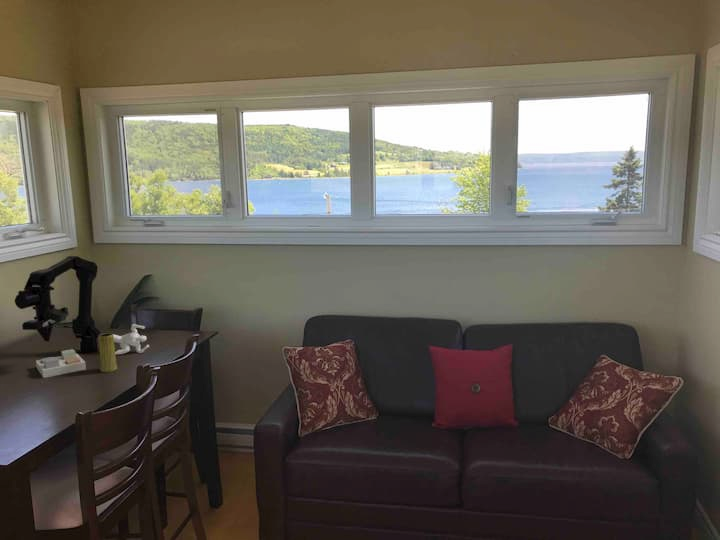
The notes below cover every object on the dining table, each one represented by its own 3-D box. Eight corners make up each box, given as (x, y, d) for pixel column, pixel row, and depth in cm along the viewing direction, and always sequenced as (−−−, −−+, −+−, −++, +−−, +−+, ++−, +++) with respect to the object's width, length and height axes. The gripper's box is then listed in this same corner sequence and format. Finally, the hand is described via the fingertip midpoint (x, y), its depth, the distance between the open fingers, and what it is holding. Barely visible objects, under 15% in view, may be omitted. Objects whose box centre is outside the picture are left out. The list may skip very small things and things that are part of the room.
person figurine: (98, 333, 235) (143, 321, 242) (100, 332, 247) (142, 321, 254) (107, 363, 236) (151, 350, 242) (108, 361, 247) (150, 348, 254)
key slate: (53, 363, 228) (53, 356, 227) (55, 366, 224) (55, 359, 224) (41, 365, 225) (40, 358, 225) (43, 368, 222) (42, 361, 221)
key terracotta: (78, 363, 227) (77, 357, 226) (80, 366, 223) (79, 359, 223) (66, 366, 224) (65, 359, 224) (68, 369, 221) (67, 362, 220)
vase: (99, 373, 219) (96, 337, 216) (102, 368, 224) (98, 333, 222) (116, 371, 220) (113, 336, 218) (118, 366, 226) (115, 332, 224)
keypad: (77, 360, 235) (76, 353, 234) (86, 369, 223) (85, 362, 223) (36, 367, 226) (35, 360, 225) (43, 377, 214) (42, 370, 214)
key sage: (73, 355, 232) (72, 349, 232) (75, 358, 229) (75, 351, 228) (61, 357, 230) (61, 351, 229) (64, 360, 226) (63, 353, 226)
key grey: (56, 363, 222) (56, 357, 221) (59, 366, 218) (58, 359, 218) (44, 366, 219) (43, 359, 219) (46, 369, 216) (45, 362, 215)
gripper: (46, 308, 212) (50, 348, 214) (76, 298, 230) (80, 335, 232) (19, 308, 213) (23, 348, 216) (51, 298, 231) (55, 334, 234)
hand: (47, 341), depth 224 cm, fingers closed
